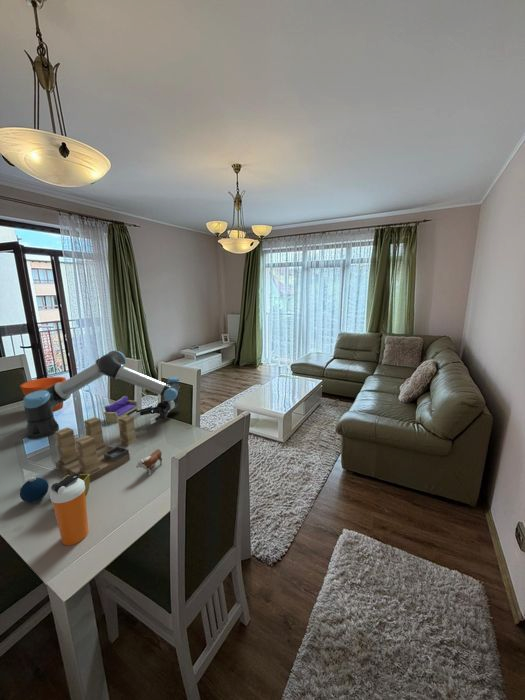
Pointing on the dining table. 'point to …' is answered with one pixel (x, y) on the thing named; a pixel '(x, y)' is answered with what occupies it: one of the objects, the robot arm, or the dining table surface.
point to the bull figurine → (150, 461)
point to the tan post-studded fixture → (88, 452)
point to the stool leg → (127, 430)
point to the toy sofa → (119, 409)
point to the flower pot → (86, 479)
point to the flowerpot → (42, 386)
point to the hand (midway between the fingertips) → (140, 420)
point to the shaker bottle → (70, 509)
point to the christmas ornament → (34, 489)
